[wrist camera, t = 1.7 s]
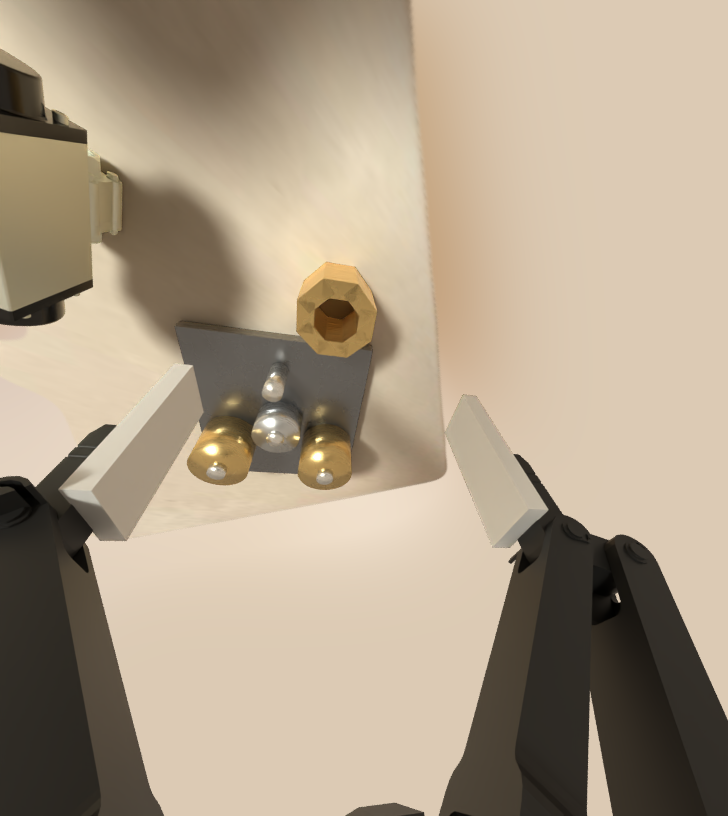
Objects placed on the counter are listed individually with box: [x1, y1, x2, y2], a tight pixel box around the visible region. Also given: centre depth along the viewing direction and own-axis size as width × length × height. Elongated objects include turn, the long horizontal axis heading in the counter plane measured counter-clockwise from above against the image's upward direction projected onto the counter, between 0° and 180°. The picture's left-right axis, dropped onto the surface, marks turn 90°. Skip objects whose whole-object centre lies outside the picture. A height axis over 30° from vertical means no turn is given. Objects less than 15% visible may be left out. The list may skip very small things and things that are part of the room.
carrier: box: [175, 321, 373, 490], centre depth 31 cm, size 20×18×7 cm
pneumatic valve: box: [0, 49, 122, 326], centre depth 15 cm, size 6×12×12 cm, turn 152°
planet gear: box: [296, 262, 377, 358], centre depth 24 cm, size 6×6×5 cm
